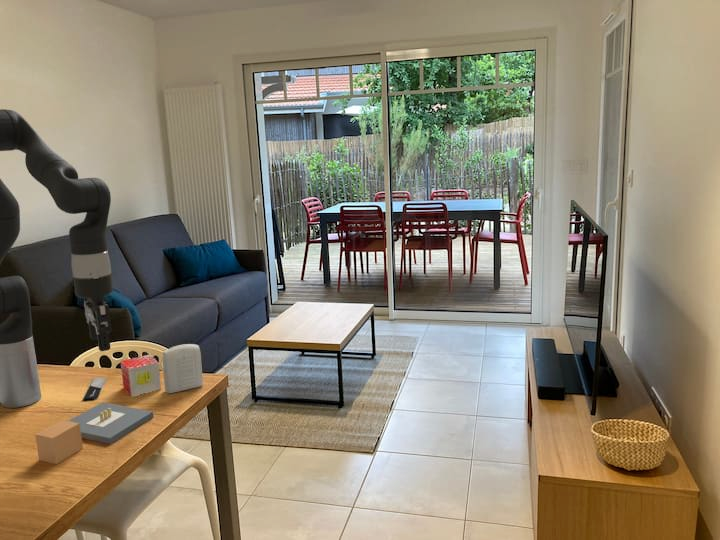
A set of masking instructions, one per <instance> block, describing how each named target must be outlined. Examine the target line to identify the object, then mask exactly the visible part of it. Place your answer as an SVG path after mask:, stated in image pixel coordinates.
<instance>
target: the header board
mask: <svg viewBox="0 0 720 540" xmlns="http://www.w3.org/2000/svg"><path fill="white" fill-rule="evenodd" d="M153 418H154V411H152V410H147V409H141V408H137V407H131V406H124V405H120V404H114V403H109V402H104V401H103V402H101V403H99V404H97V405H95V406H93V407H91V408H89V409H88V410H85V411H83V412H82V413H80V414H78V415H76V416H75V417H72V418H71V419H69V420H68V421H71V422H75V423H80V430H81V438H82V439H85V440H88V441H89V440H90V441H94V442H99V443H103V444H108V445H112V444H113V443H115V442H116V441H118V440H120V439H122V438H123V437H124V436H126V435H128V434H129V433H131V432H133V431H134V430H135V429H137V428H139V427H140V426H142V425H143V424H145V423H147V422H148V421H150V420H151V419H153Z"/></svg>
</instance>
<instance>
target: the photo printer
mask: <svg viewBox="0 0 720 540" xmlns="http://www.w3.org/2000/svg"><path fill="white" fill-rule="evenodd" d="M162 368H163V381H164V392H165V393H166V394H172V393H177V392H183V391H187V390H192V389H196V388H200V387H203V383H204V382H203V367H202V354H201V349H200V345H198V344H195V343H187V344H186V343H183V344H179V345H174V346H171V347H170V348H168V349H166V350H164V351H162Z"/></svg>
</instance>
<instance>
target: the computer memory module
mask: <svg viewBox="0 0 720 540" xmlns="http://www.w3.org/2000/svg"><path fill="white" fill-rule="evenodd" d="M106 380H107V379H106V377H100V378H99V377H97V378H93V379H92V380H91V382H90V384H89V386H88V387H87V389H86V392H85V393H84V396H83V397H82V400H80V402H81V403H83V402H82V401H85V402H93V401H96V400H95V399H97V400H98V398H99V396H100V394H101V391H102V390H103V387H104V385H105V383H106Z"/></svg>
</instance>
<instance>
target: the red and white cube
mask: <svg viewBox="0 0 720 540" xmlns="http://www.w3.org/2000/svg"><path fill="white" fill-rule="evenodd" d="M120 368H121V369H120V370H121V377H122V378H121V379H122V387H124V388H125V389H124V388H123V389H124V391H126V392H127V394H128V393H129V394H128V395H129V396H130V397H131V398H133V396H134V397H138V396H141V395H140V394H142V395H144V394H143V393H146V394H149V392H150V393H153V392H152V391H154V392H157V391H156V390H158V391H160V390H159V389H161V390H162V383H161V373H160V364H159V361H158V360H156V359H155V358H154V357H153V356H152V355H151V354H146V355H142V356H138V357H132V358H128V359H124V360H123V359H122V360H120ZM137 395H138V396H137Z"/></svg>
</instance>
